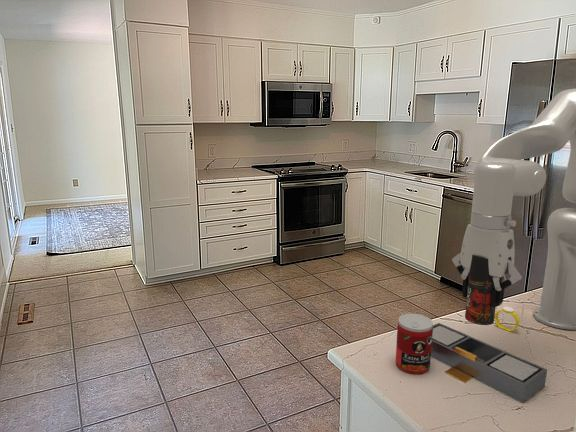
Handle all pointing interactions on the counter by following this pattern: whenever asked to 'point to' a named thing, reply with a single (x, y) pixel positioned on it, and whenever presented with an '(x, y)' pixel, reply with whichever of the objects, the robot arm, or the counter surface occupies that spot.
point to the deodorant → (480, 293)
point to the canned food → (414, 343)
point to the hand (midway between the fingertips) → (481, 299)
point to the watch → (510, 311)
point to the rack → (486, 364)
